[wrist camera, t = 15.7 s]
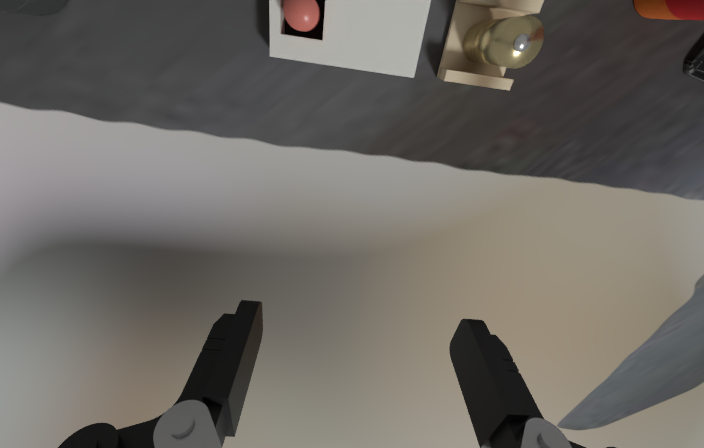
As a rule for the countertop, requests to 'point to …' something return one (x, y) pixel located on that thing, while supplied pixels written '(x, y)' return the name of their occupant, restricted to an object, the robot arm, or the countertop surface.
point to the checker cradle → (357, 35)
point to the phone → (695, 63)
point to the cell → (504, 41)
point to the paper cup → (670, 9)
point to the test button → (302, 14)
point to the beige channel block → (471, 7)
